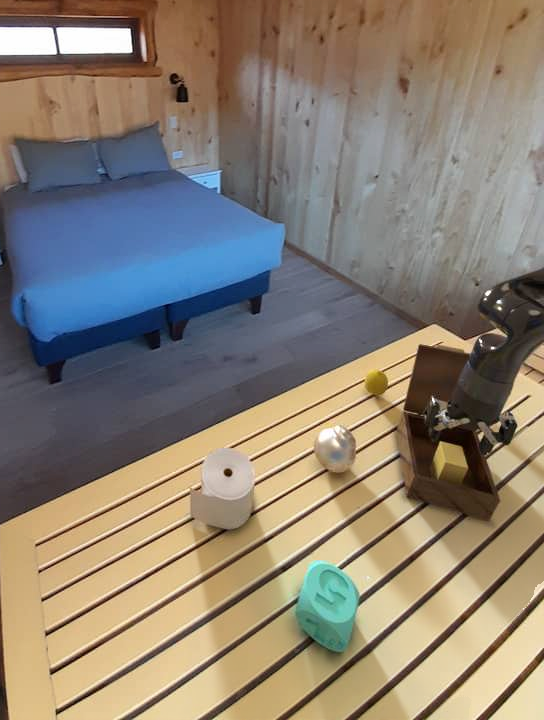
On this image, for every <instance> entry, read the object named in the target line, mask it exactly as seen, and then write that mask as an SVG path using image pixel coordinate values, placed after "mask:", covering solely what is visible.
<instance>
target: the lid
mask: <svg viewBox="0 0 544 720" xmlns="http://www.w3.org/2000/svg"><path fill="white" fill-rule="evenodd" d="M470 354H471V352H470V353H469V352H465V349H463V348H458V347H453V346H447V345H443V344H442V345H441V344H437V346H432V345H427V344H421V343H418V346H417V349H416V354H415V357H414V361H413V362H414V363H413V366H412V370H411V375H410V378H409V383H408V387H407V390H406V395H405V399H404V402H403V408H402V410H403V411H405V412H409V413H413V414H417V415H422V416H423V412H424V410H425V408H426V406H427V403H428V401H429V399H430V397H431V396H436V397H437V398H438V400H441V401H444V402H447V401H449V400H450V399H451V398H452V394H453V391H454V389H455V386H456V384H457V381H458V379H459V376H460V374H461V372H462V369H463V367H464V365H465V364H466V362H467V361H468V359H469V356H470ZM443 410H445V409H443ZM443 410H442V411H443ZM438 414H440V413H437V415H438ZM449 418H450V420H452V418H451V416H449Z"/></svg>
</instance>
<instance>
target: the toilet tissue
mask: <svg viewBox="0 0 544 720" xmlns="http://www.w3.org/2000/svg"><path fill="white" fill-rule="evenodd" d="M200 475H201V476H200V477H201V481H200V482H201V485H200V492H199V491H198V490H196V489H194V488H192V487H189V496H190V497H189V506H190V508H189V509H190V511H189V513H190V514H189V515H190V516H191V517H192V518H193V519H195V520H196V521H198V522H200V523H203V524H205V525H209V526H212V527H215V528H220V529H223V530H236V529H238V528H240V527H241V526H243V525H245V524H246V522H247V521H248V520H249V518H250V517H251V514H252V511H253V503H254V502H253V501H254V495H255V494H254V493H255V483H256V472H255V468H254V464H253V463H252V462H251V459H249V457H248V456H247V455H246V454H244V453H243V452H241V451H240V450H239V449H236V448H232V447H220V448H218V449H215V450H212V451H211V452H209V454H208V455H207V456H206V457H205V458H204V461H203V462H202V465H201V469H200Z"/></svg>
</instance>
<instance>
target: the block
mask: <svg viewBox="0 0 544 720" xmlns="http://www.w3.org/2000/svg"><path fill="white" fill-rule="evenodd" d="M429 469H430V474H431V478H434V479H437V480H441V481H445V482H448V483H452V484H456V485H459V486H460V485H461V482H462V480H463V478H464V476H465V474H466V472H467V470H468V466H467V462H466V459H465V456H464V452H463V449H462V447H461V446H457V445H453V444H449V443H445V442H441V441H440V443H439V446H438V448H437V450H436V453H435V455H434V458H433V460H432V463H431V465H430V468H429Z"/></svg>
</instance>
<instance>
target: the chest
mask: <svg viewBox="0 0 544 720" xmlns="http://www.w3.org/2000/svg"><path fill="white" fill-rule="evenodd" d="M442 421H443V420H442ZM442 421H440V422H442ZM429 428H430V426H426V425H425V422H424V417H423V415H420V414H416V413H412V412H407V411H404V410H403V411H402V413H401V416H400V419H399V422H398V424H397V429H396V436H397V443H398V449H399V457H400V465H401V471H402V479H403V485H404V491H405V497H406V498H408V499H412V500H415V501H418V502H421V503H425V504H429V505H431V506H435V507H438V508H442V509H445V510H449V511H452V512H455V513H459V514H463V515H466V516H469V517H472V518H475V519H479V520H483V521H487V522H490V520H491V518H492V516H493V515H494V513H495V511H496V509H497V507H498V506H499V504H500V503H501V499H500V496H499V493H498V489H497V486H496V484H495V480H494V478H493V475H492V472H491V470H490V466H489V463H488V460H487V457H486V455H482V454H481V452H480V449H479V443H480V441H481V439H480V437H479V434H478V432H477V431H478V430H477V431H476V430H472V429H470V428H465V427H459V426H455V427H453V428H448V427H447V428H444V429H442V430H441V433H440V436H439V438H438V441H437V443H435V442H432V439H430V437H429V432H428V430H429ZM440 441H441V442H445V443H449V444H453V445H457V446H461V447H462V449H463V452H464V456H465V459H466V462H467V466H468V470H467V472H466V474H465V476H464V478H463V480H462V482H461V485H460V486H459V485H456V484H452V483H448V482H445V481H441V480H437V479H434V478H431V474H430V469H429V468H430V465H431V463H432V460H433V458H434V455H435V453H436V450H437V448H438V446H439V443H440Z"/></svg>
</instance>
